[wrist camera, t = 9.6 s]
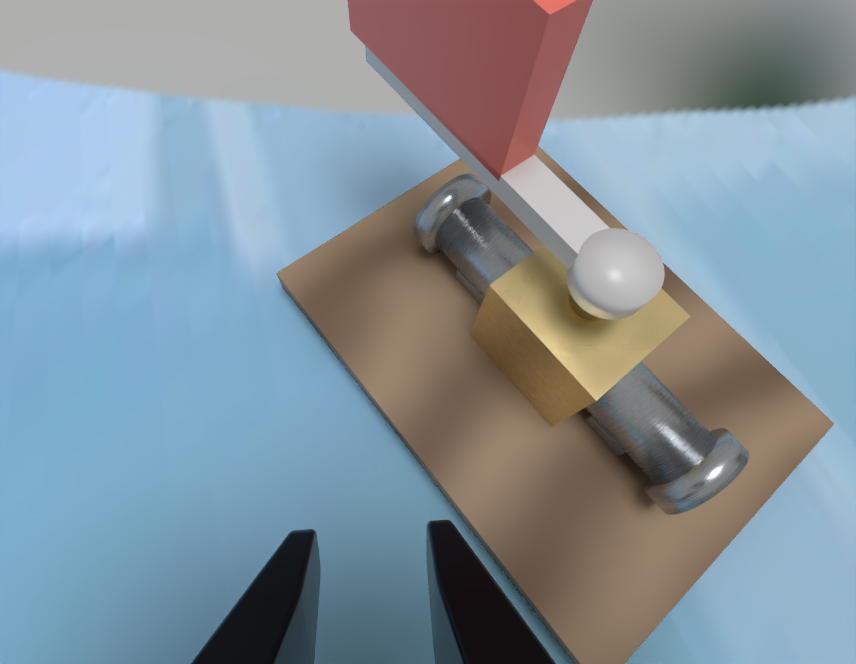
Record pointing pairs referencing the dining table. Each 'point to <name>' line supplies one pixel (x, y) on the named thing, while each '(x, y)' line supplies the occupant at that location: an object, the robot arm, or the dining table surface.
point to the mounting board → (547, 427)
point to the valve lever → (508, 123)
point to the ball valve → (577, 350)
